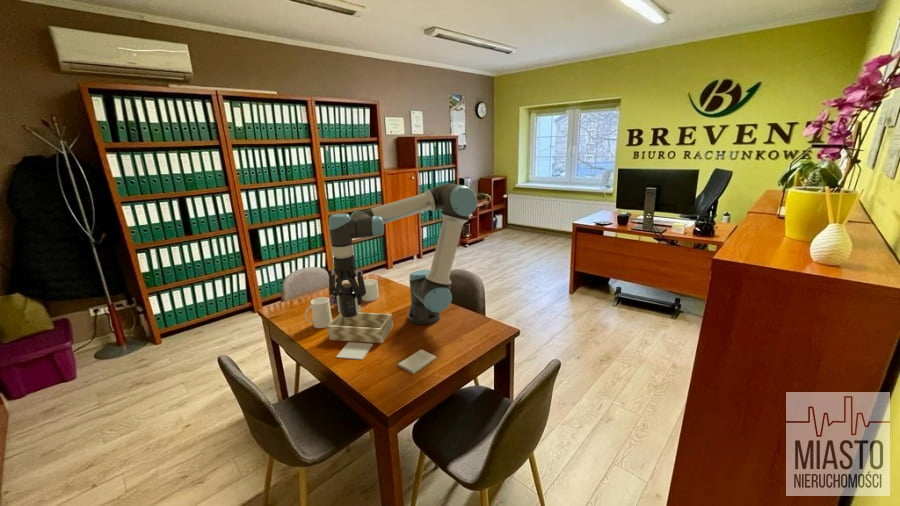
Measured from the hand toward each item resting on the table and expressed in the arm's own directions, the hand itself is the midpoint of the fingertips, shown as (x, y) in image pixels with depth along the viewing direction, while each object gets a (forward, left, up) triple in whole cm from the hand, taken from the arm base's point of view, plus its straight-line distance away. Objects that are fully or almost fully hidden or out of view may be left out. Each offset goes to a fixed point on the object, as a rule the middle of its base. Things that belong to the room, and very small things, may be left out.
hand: (349, 311), depth 141 cm
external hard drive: (-28, +5, -18) cm, 33 cm away
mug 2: (+14, -51, -18) cm, 56 cm away
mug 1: (+25, -18, -18) cm, 36 cm away
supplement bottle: (0, 0, -1) cm, 1 cm away
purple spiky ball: (+23, -36, -18) cm, 47 cm away
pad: (-1, +1, -17) cm, 17 cm away
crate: (+2, -13, -17) cm, 22 cm away
